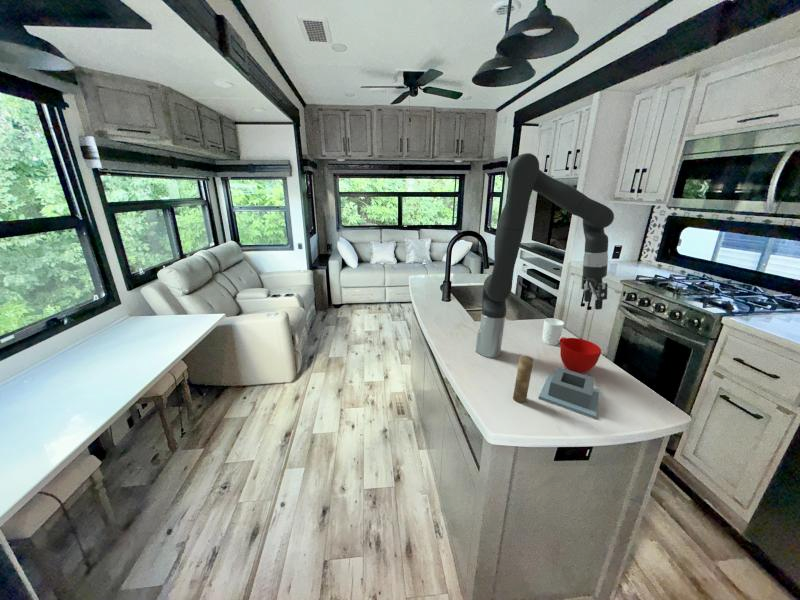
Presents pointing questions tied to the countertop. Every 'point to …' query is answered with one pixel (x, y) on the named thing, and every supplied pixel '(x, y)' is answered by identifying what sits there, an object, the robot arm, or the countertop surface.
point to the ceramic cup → (579, 354)
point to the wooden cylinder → (523, 379)
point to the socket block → (571, 392)
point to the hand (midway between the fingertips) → (592, 305)
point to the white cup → (552, 331)
